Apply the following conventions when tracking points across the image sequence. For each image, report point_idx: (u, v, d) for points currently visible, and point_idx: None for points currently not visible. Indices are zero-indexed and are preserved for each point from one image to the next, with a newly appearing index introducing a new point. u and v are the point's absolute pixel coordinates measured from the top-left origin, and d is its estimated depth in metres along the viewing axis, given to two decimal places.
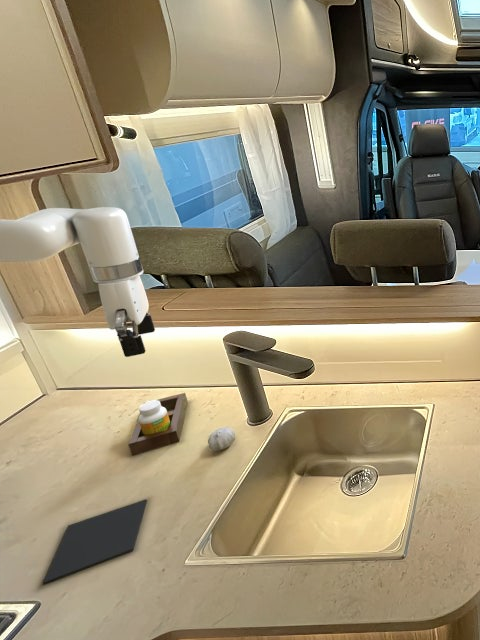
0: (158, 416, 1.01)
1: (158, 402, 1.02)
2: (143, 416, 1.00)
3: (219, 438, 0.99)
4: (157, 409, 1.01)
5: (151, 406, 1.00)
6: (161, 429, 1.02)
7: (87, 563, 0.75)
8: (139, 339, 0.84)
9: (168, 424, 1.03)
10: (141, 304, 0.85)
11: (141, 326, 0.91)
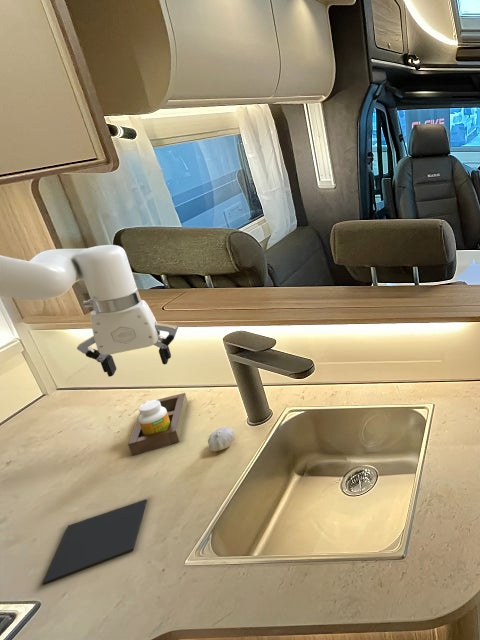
0: (158, 416, 1.01)
1: (158, 402, 1.02)
2: (143, 416, 1.00)
3: (219, 438, 0.99)
4: (157, 409, 1.01)
5: (151, 406, 1.00)
6: (161, 429, 1.02)
7: (87, 563, 0.75)
8: None
9: (168, 424, 1.03)
10: None
11: (111, 366, 0.93)
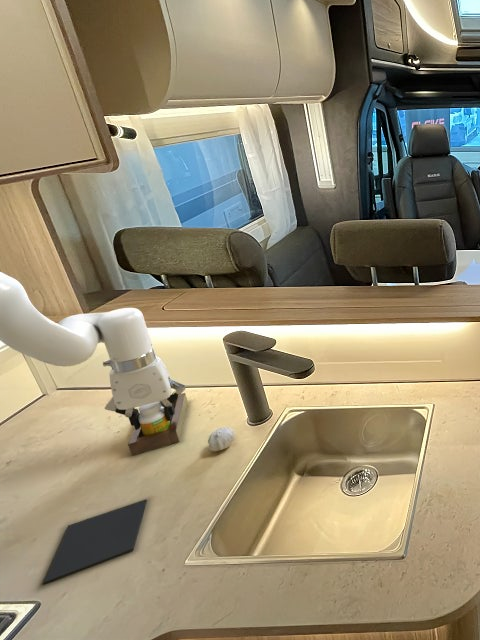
0: (158, 416, 1.01)
1: (158, 402, 1.02)
2: (143, 416, 1.00)
3: (219, 438, 0.99)
4: (157, 409, 1.01)
5: (151, 406, 1.00)
6: (161, 429, 1.02)
7: (87, 563, 0.75)
8: None
9: (168, 424, 1.03)
10: None
11: None
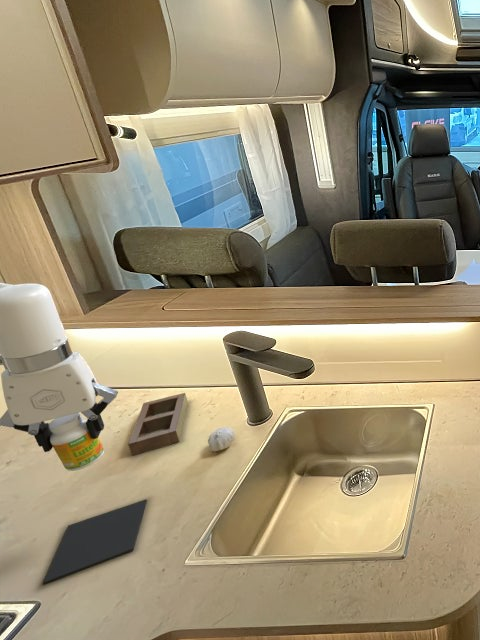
0: (78, 433, 0.74)
1: (77, 415, 0.75)
2: (55, 435, 0.73)
3: (219, 438, 0.99)
4: (75, 424, 0.74)
5: (66, 421, 0.73)
6: (84, 450, 0.75)
7: (87, 563, 0.75)
8: None
9: (94, 443, 0.77)
10: None
11: (49, 438, 0.73)
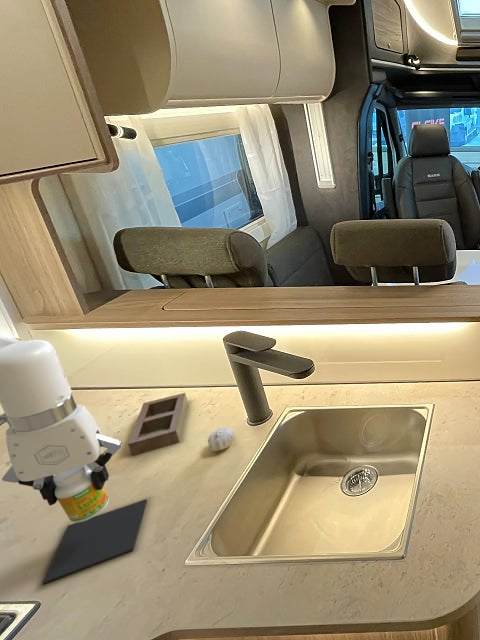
0: (82, 485, 0.74)
1: None
2: (60, 488, 0.73)
3: (219, 438, 0.99)
4: (79, 476, 0.74)
5: (71, 473, 0.73)
6: (88, 502, 0.75)
7: (87, 563, 0.75)
8: None
9: (99, 494, 0.76)
10: None
11: (54, 490, 0.73)
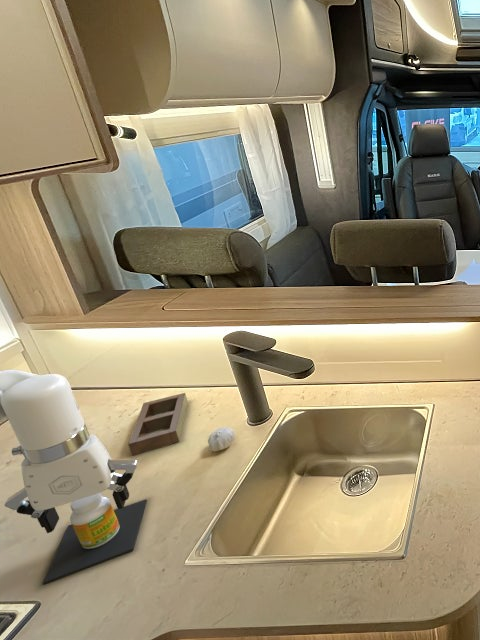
0: (97, 513, 0.76)
1: (98, 493, 0.77)
2: (76, 514, 0.75)
3: (219, 438, 0.99)
4: (95, 504, 0.76)
5: (87, 501, 0.76)
6: (102, 529, 0.77)
7: (87, 563, 0.75)
8: None
9: (112, 521, 0.79)
10: None
11: (52, 518, 0.74)
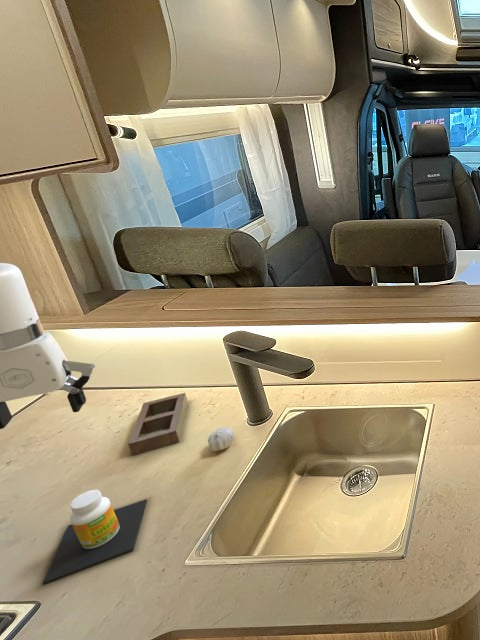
0: (97, 513, 0.76)
1: (98, 493, 0.77)
2: (76, 514, 0.75)
3: (219, 438, 0.99)
4: (95, 504, 0.76)
5: (87, 501, 0.76)
6: (102, 529, 0.77)
7: (87, 563, 0.75)
8: None
9: (112, 521, 0.79)
10: None
11: (3, 415, 0.73)
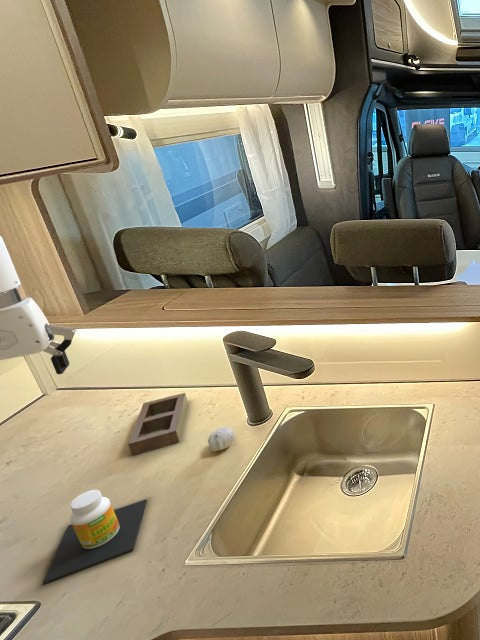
0: (97, 513, 0.76)
1: (98, 493, 0.77)
2: (76, 515, 0.75)
3: (219, 438, 0.99)
4: (95, 504, 0.76)
5: (87, 501, 0.76)
6: (102, 529, 0.77)
7: (87, 563, 0.75)
8: None
9: (112, 521, 0.79)
10: None
11: None
